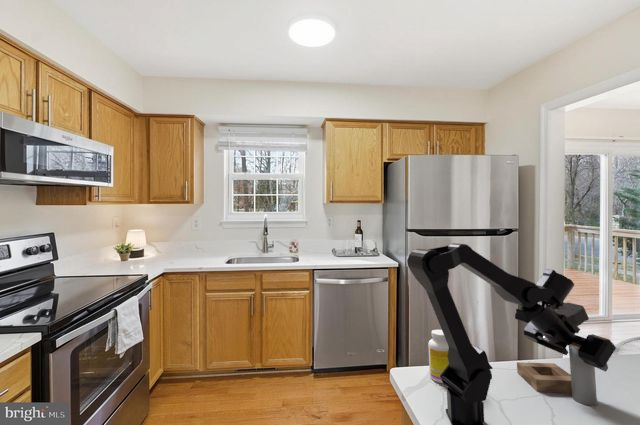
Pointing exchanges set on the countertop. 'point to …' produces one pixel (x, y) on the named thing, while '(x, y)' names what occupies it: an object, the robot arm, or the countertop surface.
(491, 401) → the countertop surface
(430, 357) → the supplement bottle
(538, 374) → the brown square frame
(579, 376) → the plug
